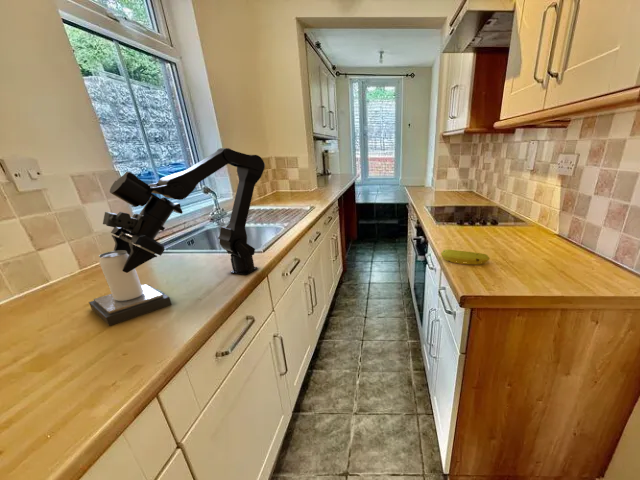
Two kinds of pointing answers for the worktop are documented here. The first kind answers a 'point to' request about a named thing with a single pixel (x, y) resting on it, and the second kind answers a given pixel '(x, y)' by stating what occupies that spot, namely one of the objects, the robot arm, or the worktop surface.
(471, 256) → the banana
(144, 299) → the scale pan
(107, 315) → the scale
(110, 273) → the can
